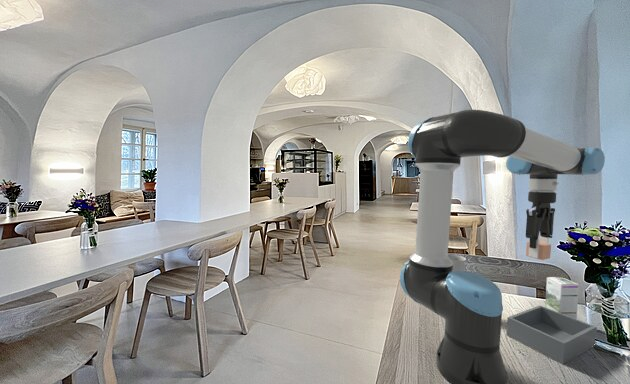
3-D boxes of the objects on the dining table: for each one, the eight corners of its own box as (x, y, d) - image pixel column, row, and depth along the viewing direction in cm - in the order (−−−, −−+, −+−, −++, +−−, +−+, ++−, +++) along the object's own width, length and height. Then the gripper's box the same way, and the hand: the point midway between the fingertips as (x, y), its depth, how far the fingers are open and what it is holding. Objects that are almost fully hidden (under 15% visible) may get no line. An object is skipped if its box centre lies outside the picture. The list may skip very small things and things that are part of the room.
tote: (562, 364, 69) (564, 343, 68) (506, 335, 81) (507, 317, 81) (595, 345, 76) (596, 327, 76) (538, 321, 88) (540, 305, 88)
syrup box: (577, 328, 85) (580, 283, 84) (558, 328, 85) (561, 283, 84) (561, 318, 90) (564, 276, 89) (543, 318, 91) (546, 276, 89)
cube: (542, 260, 93) (543, 245, 92) (525, 255, 97) (526, 242, 97) (550, 258, 95) (551, 244, 94) (533, 254, 99) (534, 240, 99)
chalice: (438, 302, 102) (440, 255, 100) (450, 298, 105) (452, 253, 103) (455, 311, 95) (457, 261, 94) (468, 307, 98) (470, 259, 97)
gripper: (540, 192, 87) (535, 262, 89) (568, 191, 95) (564, 255, 96) (515, 191, 94) (511, 256, 96) (543, 190, 102) (539, 250, 103)
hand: (537, 255), depth 96 cm, fingers closed on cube, 5 cm apart
